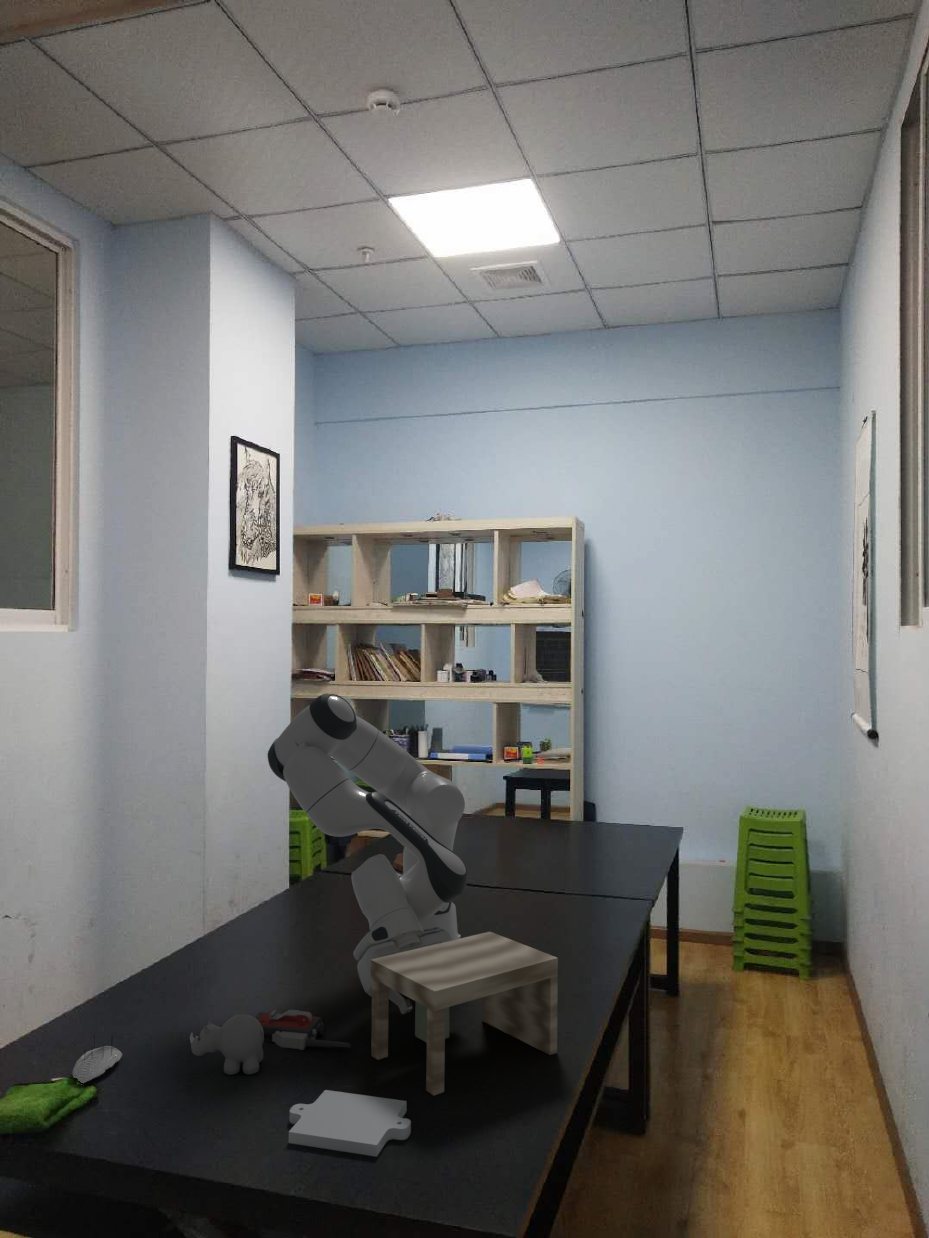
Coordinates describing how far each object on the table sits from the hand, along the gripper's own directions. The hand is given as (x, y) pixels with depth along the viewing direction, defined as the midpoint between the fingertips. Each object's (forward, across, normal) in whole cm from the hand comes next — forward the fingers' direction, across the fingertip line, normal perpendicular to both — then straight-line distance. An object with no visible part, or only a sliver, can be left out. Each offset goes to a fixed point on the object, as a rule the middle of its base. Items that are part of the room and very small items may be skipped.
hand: (429, 1005), depth 172 cm
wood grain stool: (+10, -1, +2) cm, 11 cm away
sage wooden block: (+4, -1, -4) cm, 6 cm away
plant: (-69, -73, -77) cm, 127 cm away
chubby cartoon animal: (-3, +34, -11) cm, 35 cm away
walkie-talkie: (-5, +18, -13) cm, 23 cm away
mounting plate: (+17, +27, +8) cm, 33 cm away
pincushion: (-11, +50, -19) cm, 55 cm away
